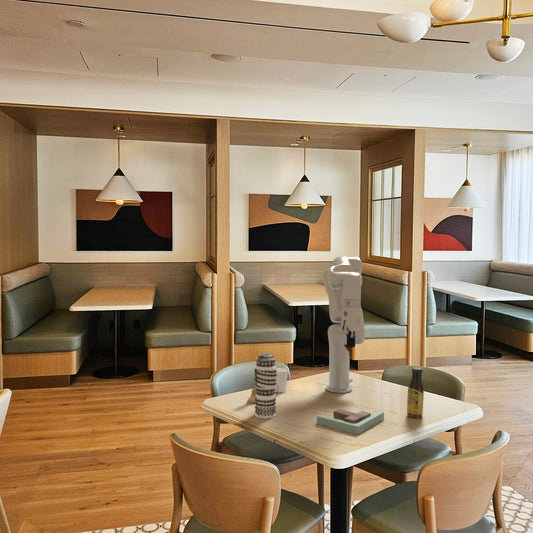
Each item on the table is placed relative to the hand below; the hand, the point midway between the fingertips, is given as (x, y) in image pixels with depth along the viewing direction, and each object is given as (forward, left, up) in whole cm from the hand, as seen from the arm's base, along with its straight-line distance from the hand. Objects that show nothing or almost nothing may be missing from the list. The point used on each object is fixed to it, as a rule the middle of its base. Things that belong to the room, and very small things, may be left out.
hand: (350, 346), depth 219 cm
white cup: (-5, -41, -27) cm, 50 cm away
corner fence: (+12, +7, -27) cm, 30 cm away
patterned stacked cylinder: (+27, -24, -27) cm, 45 cm away
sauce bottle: (-11, +24, -27) cm, 38 cm away
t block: (+14, +7, -27) cm, 31 cm away
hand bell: (+14, -39, -27) cm, 50 cm away
